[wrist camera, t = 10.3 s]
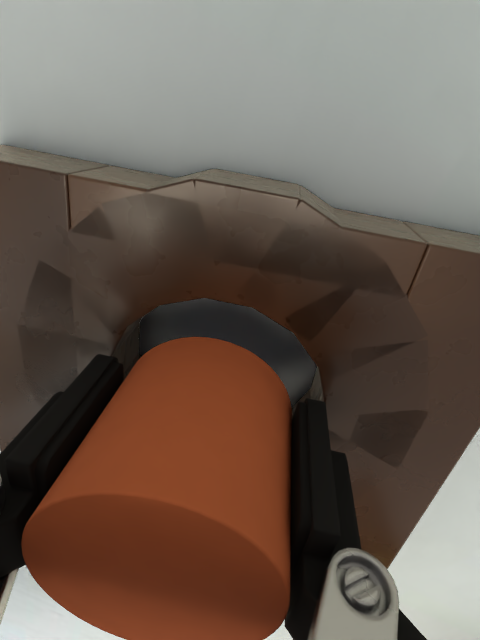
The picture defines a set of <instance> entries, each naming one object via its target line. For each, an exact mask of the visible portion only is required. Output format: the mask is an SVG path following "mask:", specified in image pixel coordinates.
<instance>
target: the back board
mask: <svg viewBox="0 0 480 640" xmlns="http://www.w3.org/2000/svg"><path fill="white" fill-rule="evenodd" d="M201 298H208V299H213V300H218V301H222V302H227V303H232V304H237V305H242V306H247V307H252V308H254V309H256V310H257V311H259V312H260V313H262V314H264V315H265V316H267V317H268V318H270V319H272V320H273V321H275V322H276V323H278V324H280V325H281V326H283V327H285V328H286V329H288V330H289V331H291V332H293V333H294V335H295V336H296V338H297V339H298V340H299V342H300V343H301V345H302V346H303V347H304V349H305V350H306V351H307V353H308V354H309V356H310V357H311V358H312V360H313V361H314V363H315V364H316V365H317V369H316V372H315V376H314V379H313V382H312V385H311V388H310V389H309V391H308V392H307V393H306V394H305V395H304V396H303V397H302V398H301V399H300V400H299V402H304V401H305V399H306V398H309V399H314V400H318V401H323V402H325V404H326V411H327V420H328V429H329V437H330V446H331V450H333V451H337V452H342V453H345V455H346V457H347V461H348V467H349V474H350V480H351V486H352V492H353V499H354V505H355V511H356V517H357V524H358V530H359V536H360V542H361V549H362V550H363V551H366V552H368V553H370V554H371V555H373V556H374V557H375V558H377V559H378V560H379V561H380V562H381V563H382V564H383V565H384V566H385V567H386V568H387V569H388V567H389V566H390V564H391V563H392V561H393V560H394V558H395V557H396V555H397V554H398V552H399V551H400V549H401V548H402V546H403V544H404V543H405V541H406V540H407V538H408V537H409V535H410V534H411V532H412V531H413V529H414V528H415V526H416V525H417V523H418V521H419V520H420V518H421V517H422V515H423V514H424V512H425V511H426V509H427V508H428V506H429V505H430V503H431V502H432V500H433V498H434V497H435V495H436V494H437V492H438V491H439V489H440V488H441V486H442V485H443V483H444V482H445V480H446V479H447V477H448V475H449V474H450V472H451V471H452V469H453V468H454V466H455V465H456V463H457V462H458V460H459V459H460V457H461V456H462V454H463V452H464V451H465V449H466V448H467V446H468V445H469V443H470V442H471V440H472V439H473V437H474V436H475V434H476V432H477V431H478V429H479V428H480V236H478V235H473V234H468V233H462V232H457V231H452V230H447V229H441V228H436V227H431V226H426V225H421V224H415V223H410V222H401V221H399V220H394V219H389V218H384V217H378V216H373V215H368V214H363V213H357V212H352V211H347V210H342V209H337V208H333V207H331V206H330V205H328V204H327V203H325V202H324V201H323V200H321V199H320V198H318V197H317V196H315V195H314V194H313V193H311V192H310V191H308V190H307V189H305V188H304V187H302V186H299V185H298V184H294V183H289V182H283V181H278V180H273V179H267V178H262V177H257V176H251V175H246V174H241V173H236V172H230V171H225V170H220V169H210V170H206V171H202V172H198V173H194V174H190V175H186V176H182V177H178V178H174V177H169V176H164V175H158V174H153V173H148V172H143V171H138V170H132V169H127V168H122V167H117V166H109V165H106V164H101V163H96V162H91V161H85V160H80V159H75V158H70V157H64V156H59V155H54V154H49V153H44V152H38V151H33V150H28V149H23V148H17V147H12V146H7V145H0V449H1V452H2V451H3V450H4V449H5V448H6V447H7V446H8V445H9V444H10V442H11V441H12V440H13V439H14V438H15V437H16V436H17V435H18V434H19V433H20V431H21V430H22V429H23V428H24V427H25V426H26V425H27V424H28V423H29V422H30V420H31V419H32V418H33V417H34V416H35V415H36V414H37V413H38V412H39V411H40V409H41V408H42V407H43V406H44V405H45V404H46V403H47V402H48V401H49V400H50V398H51V397H52V396H53V395H55V394H56V393H57V392H60V391H62V392H64V391H65V390H66V389H67V388H68V387H69V386H70V384H71V383H72V382H73V381H74V380H75V379H76V378H77V376H78V375H79V374H80V373H81V372H82V371H83V370H84V368H85V367H86V366H87V365H88V364H89V363H90V362H91V361H92V359H93V358H94V357H95V356H96V355H97V354H102V355H106V356H111V357H116V358H118V361H119V363H121V364H123V367H124V378H123V381H124V380H125V378H126V377H127V375H128V374H129V372H130V371H131V369H132V368H133V366H134V365H135V364H136V362H137V361H138V360H139V359H140V358H141V357H140V354H139V329H140V321H141V319H142V317H143V316H145V315H146V314H148V313H149V312H151V311H152V310H154V309H155V308H157V307H158V306H160V305H165V304H171V303H177V302H183V301H189V300H195V299H201ZM297 403H298V402H297ZM297 403H296V404H295V405H294V406H293V407H292V408H291V409H292V419H293V415H294V412H295V409H296V406H297Z"/></svg>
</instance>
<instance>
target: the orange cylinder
mask: <svg viewBox="0 0 480 640" xmlns="http://www.w3.org/2000/svg"><path fill="white" fill-rule="evenodd" d="M291 436H292V409H291V402H290V399H289V395H288V392H287V390H286V388H285V386H284V384H283V382H282V381H281V379H280V378H279V376H278V375H277V374H276V373H275V371H274V370H273V369H272V368H271V367H270V366H269V365H268V364H267V363H266V362H264V361H263V360H262V359H261V358H259V357H258V356H257V355H255V354H254V353H252V352H250V351H248V350H247V349H245V348H243V347H241V346H238V345H236V344H233V343H231V342H227V341H223V340H220V339H214V338H208V337H186V338H179V339H174V340H170V341H167V342H165V343H162V344H160V345H158V346H156V347H154V348H152V349H150V350H149V351H148V352H146V353H145V354H144V355H143V356H142V357H141V358H140V359H139V360H138V361H137V362H136V364H135V365H134V366H133V368H132V369H131V371H130V372H129V374H128V375H127V377H126V378H125V380H124V381H123V382H122V384H121V385H120V387H119V388H118V390H117V391H116V393H115V394H114V396H113V397H112V399H111V400H110V402H109V403H108V404H107V406H106V407H105V409H104V410H103V412H102V413H101V415H100V416H99V418H98V419H97V421H96V422H95V424H94V425H93V426H92V428H91V429H90V431H89V432H88V434H87V435H86V437H85V438H84V440H83V441H82V443H81V444H80V445H79V447H78V448H77V450H76V451H75V453H74V454H73V456H72V457H71V459H70V460H69V462H68V463H67V465H66V466H65V467H64V469H63V470H62V472H61V473H60V475H59V476H58V478H57V479H56V481H55V482H54V484H53V485H52V486H51V488H50V489H49V491H48V492H47V494H46V495H45V497H44V498H43V500H42V501H41V503H40V504H39V506H38V507H37V508H36V510H35V511H34V513H33V514H32V516H31V517H30V519H29V520H28V522H27V523H26V526H25V528H24V531H23V534H22V542H21V547H22V555H23V558H24V561H25V564H26V566H27V568H28V570H29V572H30V573H31V575H32V576H33V578H34V579H35V581H36V582H37V583H38V584H39V586H40V587H41V588H42V589H43V590H44V591H45V592H46V593H47V594H48V595H49V596H50V597H51V598H52V599H53V600H55V601H56V602H57V603H58V604H60V605H61V606H62V607H64V608H65V609H66V610H68V611H69V612H71V613H72V614H74V615H75V616H77V617H78V618H80V619H82V620H84V621H85V622H87V623H89V624H91V625H93V626H95V627H97V628H99V629H101V630H103V631H106V632H108V633H111V634H113V635H115V636H118V637H121V638H124V639H127V640H263V639H265V638H267V637H268V636H270V635H271V634H272V633H274V632H275V631H276V630H277V629H278V628H279V627H280V626H281V624H282V623H283V621H284V619H285V618H286V615H287V612H288V609H289V606H290V555H291Z"/></svg>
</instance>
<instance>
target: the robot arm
mask: <svg viewBox="0 0 480 640" xmlns="http://www.w3.org/2000/svg"><path fill="white" fill-rule="evenodd" d="M123 378H124V367H123V364H121V363H119V361H118V358H116V357H111V356H106V355H102V354H97V355H96V356H95V357H94V358H93V359H92V361H91V362H90V363H89V364H88V365H87V366H86V367H85V368H84V370H83V371H82V372H81V373H80V374H79V375H78V376H77V378H76V379H75V380H74V381H73V382H72V383H71V384H70V386H69V387H68V388H67V389H66V390H65V391H64V392H62V391H60V392H57V393H56V394H55V395H53V396H52V397H51V398H50V400H49V401H48V402H47V403H46V404H45V405H44V406H43V407H42V408H41V409H40V411H39V412H38V413H37V414H36V415H35V416H34V417H33V418H32V419H31V420H30V422H29V423H28V424H27V425H26V426H25V427H24V428H23V429H22V430H21V431H20V433H19V434H18V435H17V436H16V437H15V438H14V439H13V440H12V441H11V442H10V444H9V445H8V446H7V447H6V448H5V449H4V450H3V451H2V452H1V453H0V624H1V621H2V618H3V615H4V612H5V609H6V606H7V603H8V600H9V597H10V594H11V591H12V587H13V584H14V581H15V578H16V575H17V572H18V569H19V568H20V567H22V566H24V565H26V564H25V561H24V558H23V555H22V547H21V542H22V534H23V531H24V528H25V526H26V523H27V522H28V520H29V519H30V517H31V516H32V514H33V513H34V511H35V510H36V508H37V507H38V506H39V504H40V503H41V501H42V500H43V498H44V497H45V495H46V494H47V492H48V491H49V489H50V488H51V486H52V485H53V484H54V482H55V481H56V479H57V478H58V476H59V475H60V473H61V472H62V470H63V469H64V467H65V466H66V465H67V463H68V462H69V460H70V459H71V457H72V456H73V454H74V453H75V451H76V450H77V448H78V447H79V445H80V444H81V443H82V441H83V440H84V438H85V437H86V435H87V434H88V432H89V431H90V429H91V428H92V426H93V425H94V424H95V422H96V421H97V419H98V418H99V416H100V415H101V413H102V412H103V410H104V409H105V407H106V406H107V404H108V403H109V402H110V400H111V399H112V397H113V396H114V394H115V393H116V391H117V390H118V388H119V387H120V385H121V384H122V382H123ZM285 627H286V629H287V630H288V632H289V633H290V635H291V636H292V638H293V640H427V639H426V638H425V637H424V636H423V635H422V634H421V633H420V632H419V631H418V629H417V628H416V627H415V626H414V625H413V624H412V623H411V622H410V620H409V619H408V618H407V617H406V616H405V615H404V614H403V613H402V612H401V610H400V609H399V598H398V591H397V588H396V585H395V582H394V580H393V578H392V576H391V575H390V573H389V572H388V570H387V568H386V567H385V566H384V565H383V564H382V563H381V562H380V561H379V560H378V559H377V558H375V557H374V556H373V555H371V554H370V553H368V552H366V551H363V550H362V549H361V542H360V536H359V530H358V524H357V517H356V511H355V505H354V499H353V492H352V486H351V480H350V474H349V467H348V461H347V457H346V455H345V453H342V452H337V451H333V450H331V446H330V437H329V429H328V420H327V411H326V404H325V402H323V401H318V400H314V399H309V398H306V399H305V401H304V402H299V401H298V403H297V406H296V409H295V412H294V415H293V419H292V436H291V555H290V606H289V609H288V612H287V615H286V618H285Z"/></svg>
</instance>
